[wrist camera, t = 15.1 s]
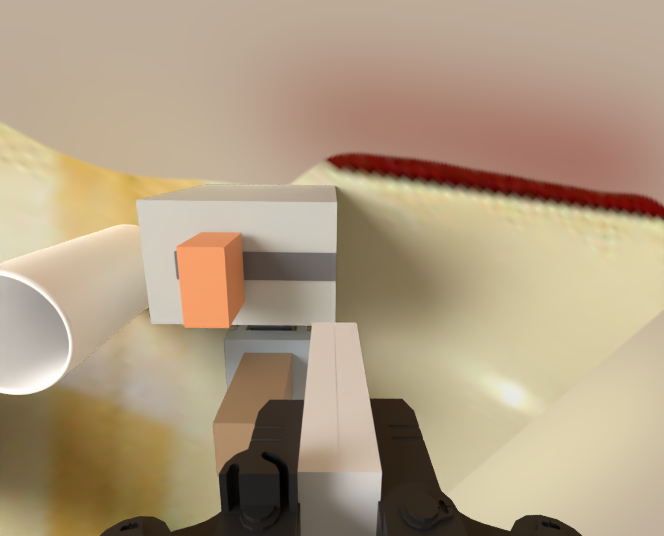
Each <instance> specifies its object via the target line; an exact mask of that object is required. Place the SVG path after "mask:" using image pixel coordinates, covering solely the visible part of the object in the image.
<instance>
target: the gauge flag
mask: <svg viewBox="0 0 664 536" xmlns="http://www.w3.org/2000/svg"><path fill="white" fill-rule="evenodd" d="M176 251H177V261H178V271H179V282H180V292H181V302H182V312H183V322H184V328H230V326H231V324H232V323H233V321H234V319H235V318H236V316H237V314H238V313H239V311H240V309H241V308H242V306H243V304H244V302H245V290H244V270H243V251H242V232H201V233H199V234H197V235H195V236H194V237H192V238H190V239H188V240H187V241H185V242H183V243H182V244H180V245H178V246H176Z"/></svg>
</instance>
